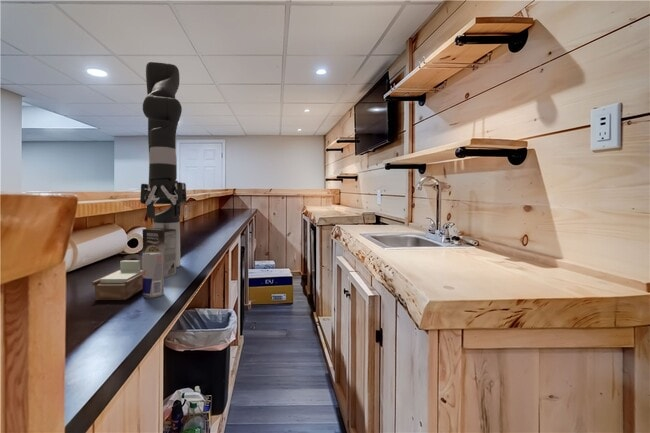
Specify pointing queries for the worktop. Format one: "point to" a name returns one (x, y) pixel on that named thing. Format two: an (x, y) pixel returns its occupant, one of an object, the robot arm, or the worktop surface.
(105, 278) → the lid
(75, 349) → the worktop surface
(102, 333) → the worktop surface
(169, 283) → the worktop surface
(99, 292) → the walnut box
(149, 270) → the energy drink
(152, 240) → the coffee box
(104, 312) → the worktop surface
